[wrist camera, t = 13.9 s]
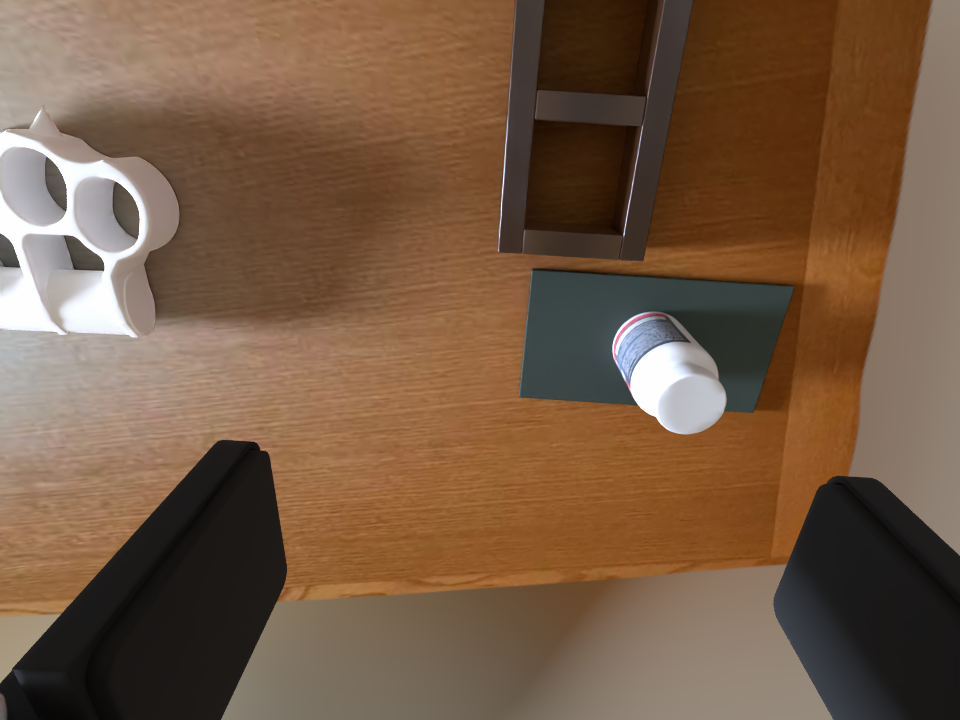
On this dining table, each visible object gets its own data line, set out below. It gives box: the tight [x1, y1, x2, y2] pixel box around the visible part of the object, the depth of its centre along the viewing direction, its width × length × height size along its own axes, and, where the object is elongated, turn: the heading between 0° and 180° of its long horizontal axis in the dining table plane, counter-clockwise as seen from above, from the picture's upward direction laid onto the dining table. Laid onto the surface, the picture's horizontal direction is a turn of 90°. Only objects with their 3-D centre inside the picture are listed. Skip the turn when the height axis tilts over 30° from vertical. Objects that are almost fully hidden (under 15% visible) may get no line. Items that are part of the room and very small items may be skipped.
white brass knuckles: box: [0, 106, 179, 338], centre depth 33 cm, size 3×18×15 cm
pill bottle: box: [613, 312, 727, 434], centre depth 33 cm, size 5×5×9 cm
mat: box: [519, 269, 794, 413], centre depth 37 cm, size 18×10×1 cm, turn 87°
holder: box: [498, 0, 694, 261], centre depth 29 cm, size 9×16×4 cm, turn 177°
